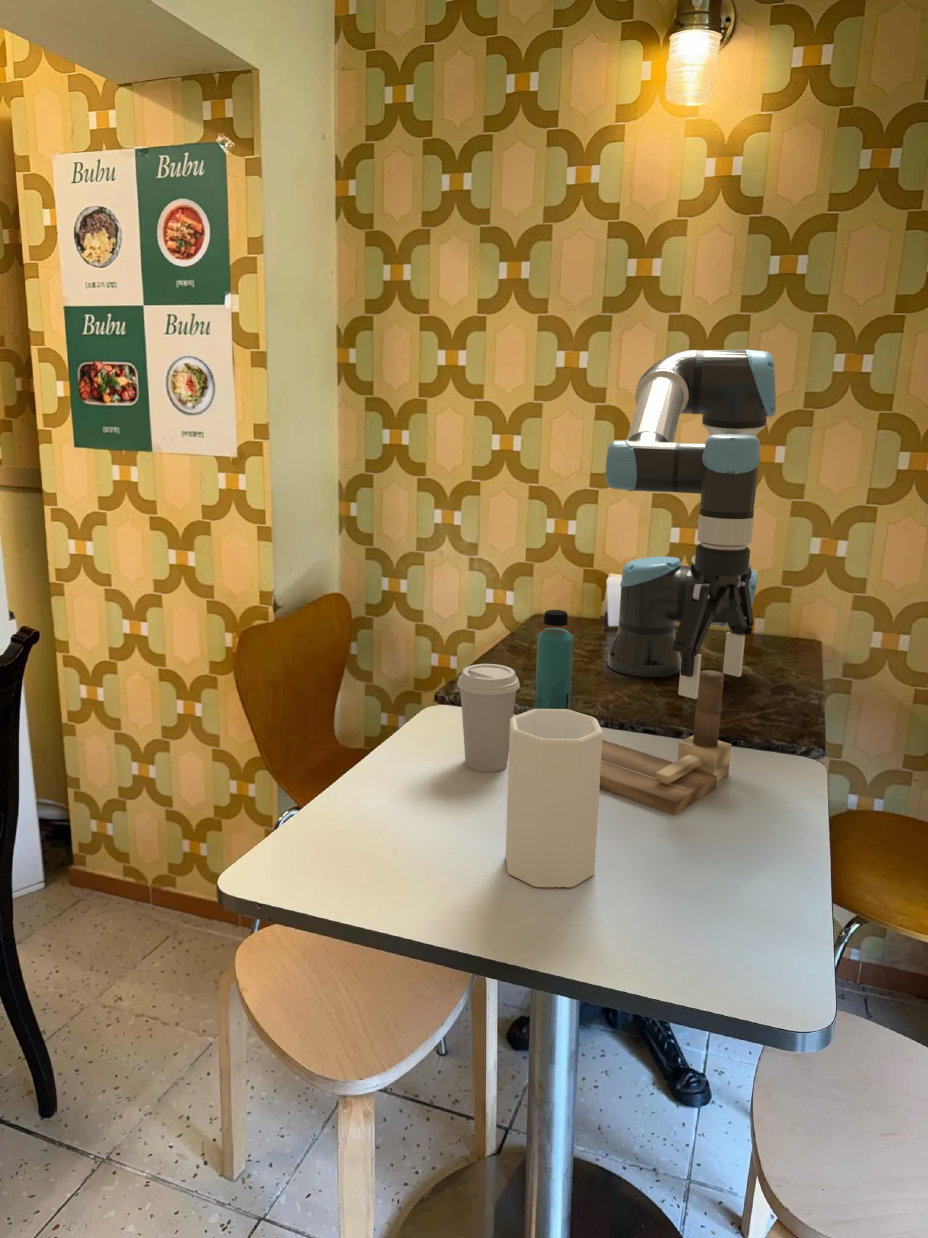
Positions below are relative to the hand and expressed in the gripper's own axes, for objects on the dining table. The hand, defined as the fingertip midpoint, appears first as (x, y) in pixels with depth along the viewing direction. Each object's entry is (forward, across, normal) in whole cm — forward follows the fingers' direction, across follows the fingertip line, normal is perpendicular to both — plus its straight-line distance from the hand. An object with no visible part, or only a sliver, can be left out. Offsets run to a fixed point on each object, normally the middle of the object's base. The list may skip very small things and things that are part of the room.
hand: (710, 685), depth 135 cm
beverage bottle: (+15, -1, -30) cm, 33 cm away
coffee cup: (+14, +21, -26) cm, 36 cm away
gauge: (+14, +6, 0) cm, 15 cm away
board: (+14, +10, -9) cm, 19 cm away
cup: (+14, +39, 0) cm, 41 cm away
